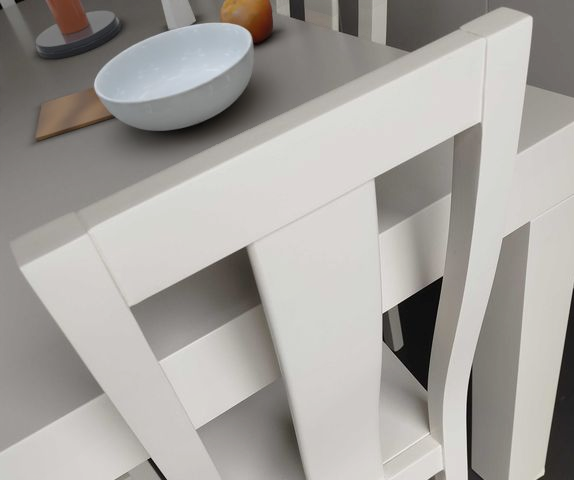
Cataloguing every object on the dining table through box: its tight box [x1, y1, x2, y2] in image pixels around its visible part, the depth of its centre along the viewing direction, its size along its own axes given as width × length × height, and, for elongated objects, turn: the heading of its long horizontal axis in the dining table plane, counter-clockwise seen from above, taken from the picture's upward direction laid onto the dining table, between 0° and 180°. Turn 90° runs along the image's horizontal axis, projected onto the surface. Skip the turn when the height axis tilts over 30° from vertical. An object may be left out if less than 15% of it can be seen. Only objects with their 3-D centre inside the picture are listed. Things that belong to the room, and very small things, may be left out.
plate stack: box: [35, 10, 122, 60], centre depth 109 cm, size 16×16×2 cm
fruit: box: [219, 0, 274, 44], centre depth 90 cm, size 8×8×8 cm
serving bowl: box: [93, 22, 255, 132], centre depth 77 cm, size 21×21×7 cm
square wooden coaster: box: [34, 87, 116, 142], centre depth 87 cm, size 12×12×1 cm
